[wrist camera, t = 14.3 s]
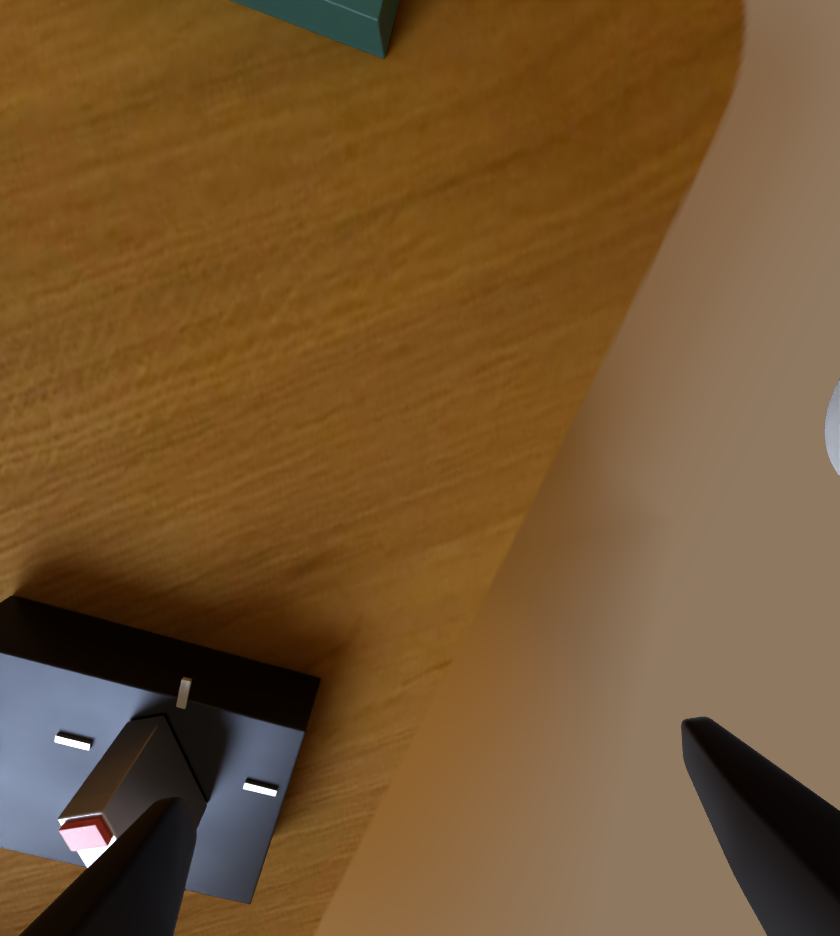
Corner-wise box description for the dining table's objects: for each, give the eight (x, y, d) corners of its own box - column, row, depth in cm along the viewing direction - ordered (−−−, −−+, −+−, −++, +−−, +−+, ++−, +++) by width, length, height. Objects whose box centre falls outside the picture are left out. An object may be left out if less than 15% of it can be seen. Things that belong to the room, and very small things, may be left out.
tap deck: (327, 659, 22) (312, 713, 19) (269, 839, 26) (249, 909, 23) (13, 573, 21) (-55, 616, 18) (-2, 774, 25) (-61, 839, 22)
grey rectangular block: (208, 805, 21) (156, 922, 17) (173, 810, 21) (113, 928, 17) (164, 714, 20) (97, 819, 16) (127, 721, 20) (50, 826, 16)
